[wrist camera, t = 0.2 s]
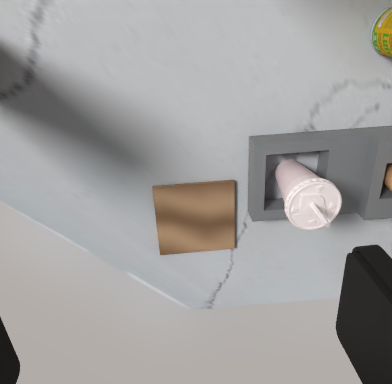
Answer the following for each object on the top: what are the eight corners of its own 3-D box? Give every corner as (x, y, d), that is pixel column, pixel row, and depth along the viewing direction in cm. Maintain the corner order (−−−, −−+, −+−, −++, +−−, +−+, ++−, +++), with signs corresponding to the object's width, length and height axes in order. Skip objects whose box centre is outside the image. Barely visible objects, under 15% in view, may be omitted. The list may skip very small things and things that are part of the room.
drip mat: (152, 186, 48) (152, 188, 48) (233, 179, 49) (234, 181, 48) (160, 252, 54) (160, 255, 53) (233, 245, 54) (234, 248, 54)
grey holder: (249, 136, 46) (258, 150, 42) (421, 123, 47) (448, 135, 43) (247, 210, 51) (255, 229, 47) (403, 197, 53) (425, 214, 48)
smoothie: (291, 140, 47) (338, 188, 35) (320, 170, 49) (373, 225, 37) (255, 173, 49) (287, 230, 36) (285, 201, 51) (324, 263, 39)
